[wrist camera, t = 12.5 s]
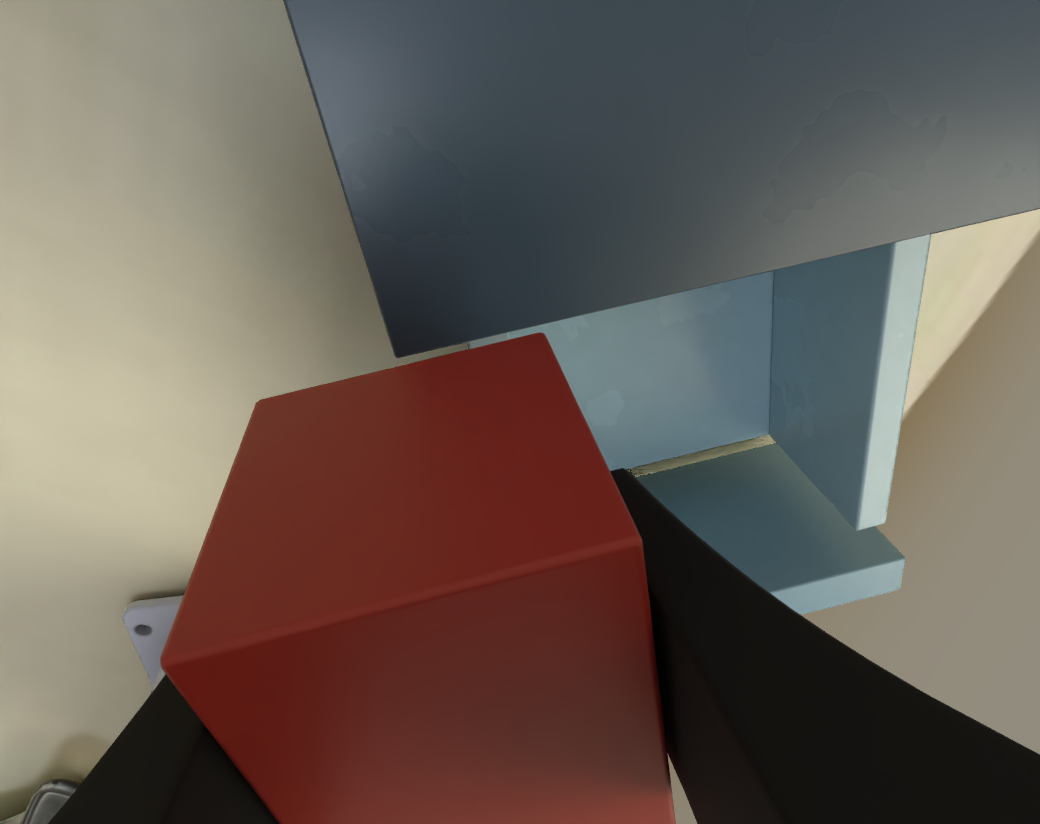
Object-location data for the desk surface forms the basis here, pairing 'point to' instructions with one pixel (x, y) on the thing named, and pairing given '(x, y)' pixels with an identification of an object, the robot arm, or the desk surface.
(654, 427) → the drawer
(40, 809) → the avocado toast plate
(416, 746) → the block
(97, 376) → the desk surface
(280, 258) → the desk surface
